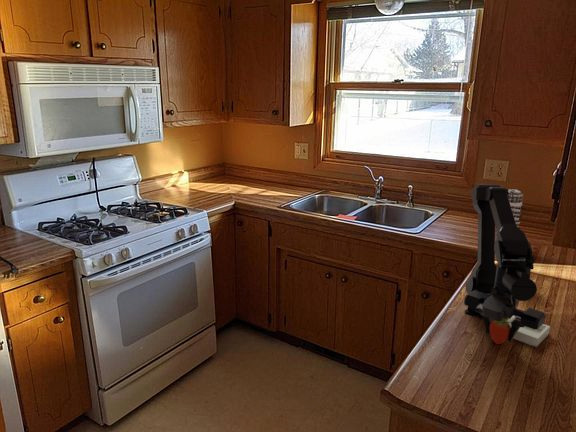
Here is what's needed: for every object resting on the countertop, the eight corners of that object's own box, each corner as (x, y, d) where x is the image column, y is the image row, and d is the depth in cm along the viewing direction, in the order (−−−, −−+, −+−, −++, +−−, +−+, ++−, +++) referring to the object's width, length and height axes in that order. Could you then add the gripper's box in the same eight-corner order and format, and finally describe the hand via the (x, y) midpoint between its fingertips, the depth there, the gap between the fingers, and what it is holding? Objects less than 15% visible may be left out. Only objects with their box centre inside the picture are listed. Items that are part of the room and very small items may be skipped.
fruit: (483, 339, 122) (486, 313, 120) (498, 336, 124) (501, 309, 122) (498, 350, 117) (502, 322, 115) (513, 346, 119) (518, 319, 117)
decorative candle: (522, 249, 191) (531, 192, 185) (504, 251, 189) (512, 193, 182) (506, 242, 200) (514, 187, 193) (489, 244, 197) (496, 188, 191)
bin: (500, 333, 125) (501, 325, 124) (513, 322, 131) (514, 314, 131) (536, 347, 118) (537, 338, 118) (548, 334, 125) (550, 326, 124)
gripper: (457, 281, 117) (451, 334, 121) (534, 305, 104) (524, 364, 108) (476, 270, 124) (470, 321, 129) (550, 291, 111) (540, 347, 115)
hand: (498, 337), depth 120 cm, fingers closed on fruit, 5 cm apart
